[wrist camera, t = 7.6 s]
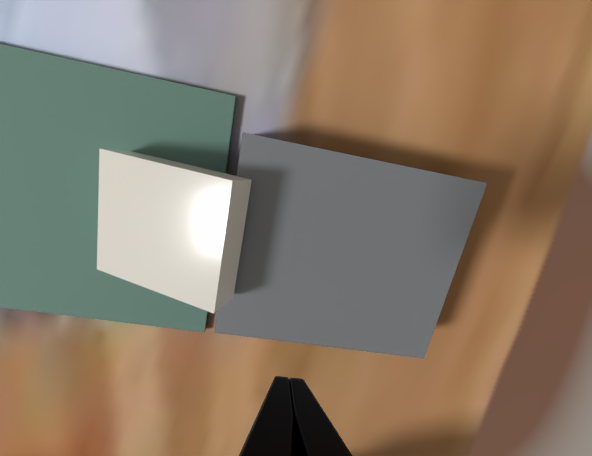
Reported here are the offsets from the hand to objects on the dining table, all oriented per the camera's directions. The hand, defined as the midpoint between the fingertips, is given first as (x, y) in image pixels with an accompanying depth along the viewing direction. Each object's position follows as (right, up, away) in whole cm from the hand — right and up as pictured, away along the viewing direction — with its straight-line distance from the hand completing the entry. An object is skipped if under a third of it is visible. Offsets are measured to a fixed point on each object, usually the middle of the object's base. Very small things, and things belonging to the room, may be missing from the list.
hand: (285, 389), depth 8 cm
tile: (-6, +5, +8) cm, 12 cm away
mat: (-12, +6, +10) cm, 16 cm away
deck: (+3, +4, +11) cm, 12 cm away
